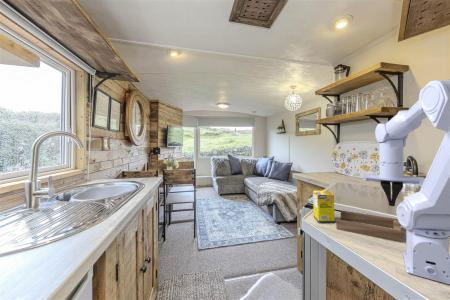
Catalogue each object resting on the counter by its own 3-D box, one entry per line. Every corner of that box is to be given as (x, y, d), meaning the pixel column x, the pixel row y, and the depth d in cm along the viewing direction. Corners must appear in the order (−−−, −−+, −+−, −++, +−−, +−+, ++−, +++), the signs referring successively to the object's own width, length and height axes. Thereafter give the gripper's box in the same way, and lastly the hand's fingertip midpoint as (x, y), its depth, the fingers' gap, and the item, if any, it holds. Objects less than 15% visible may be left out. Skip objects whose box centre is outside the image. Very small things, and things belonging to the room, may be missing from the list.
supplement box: (335, 223, 74) (334, 194, 73) (318, 223, 75) (317, 194, 74) (329, 216, 80) (328, 190, 79) (313, 216, 81) (312, 190, 80)
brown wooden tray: (401, 242, 59) (401, 232, 59) (336, 229, 70) (336, 220, 69) (398, 227, 68) (398, 219, 68) (341, 217, 78) (341, 210, 78)
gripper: (421, 161, 60) (422, 204, 61) (363, 160, 69) (364, 198, 70) (425, 164, 55) (425, 212, 56) (361, 162, 64) (362, 204, 65)
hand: (391, 205), depth 62 cm, fingers closed
